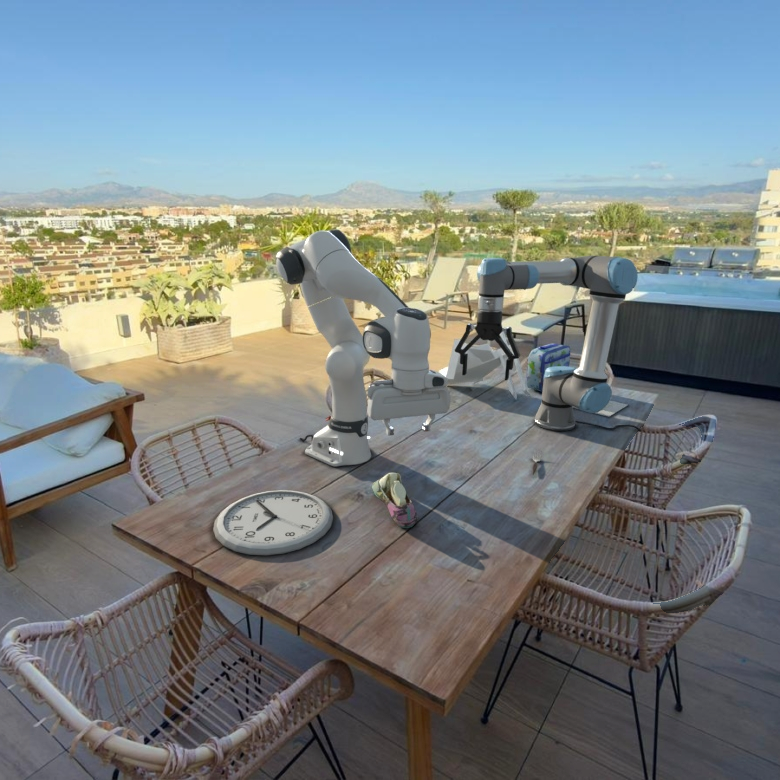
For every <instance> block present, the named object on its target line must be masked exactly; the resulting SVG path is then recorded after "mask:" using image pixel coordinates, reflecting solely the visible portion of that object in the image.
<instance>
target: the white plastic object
mask: <svg viewBox="0 0 780 780" xmlns="http://www.w3.org/2000/svg"><path fill="white" fill-rule="evenodd" d="M502 328H504V327H503V326H502ZM500 336H501V338H502V340H503V341H504V343H505V344H506V345H507V347H508V348H509V349H510V351H511V352H512V354H513V355H514V353H513V351H512V348H511V346H510V344H508V339H507V336H506V335H505V334H504V332H503V331H502V332H501V334H500ZM460 340H461V338H460V339H458V338H454V340H453V344H452V349H451V353H450V357H449V362H448V366H446V367H444V368H442V369H440V370H439V371H438V372H439V373H441V374H442V375H444V376H445V377H446V378H447V379H448V384H447V386H449V385H458V384H467V383H468V384H469V383H473V384H477V383H480V382H482V381H484V378H485V377H486V376H487V375H489V374H490V373H492V372H494V371H495V370H496V369H497V368H499V367H500V366H502V370H503V373H504V374H505V371H506V360H507V359H508V357H507V355H506V354H505V352H504V351H503V350H502V348H501V347H500V348H498V349H496V350H495V349H493V348H492V347H491V346H490V344H489V343H488V342H487V343H483V344H479V345H473V346H471V347H470V348H469V349H468V350H467V351H466V353H465V354H468V358H467V373H466V374H465V375H462V370H463V364H460V354H459V353H457V352H455V349H456V347H457V345H458V343H459V342H460ZM467 345H468V343H466V341H465V342H464V344H463V346H462V348H461V349H464V348H465V347H466V346H467ZM513 364H514V366H515V369H516V372H517V376H518V380H519V382H520V385H521V389H522V391H523V393H524V395H525V396H526V397H528V396H531V395H530V389H529V388H528V387H527V384H526V381H527V380H526V378H525V375H524V371H523V369H522V368H523V367H522V366H521V362H520V359H519V358H518V359H514V363H513ZM506 383H507V386H508V390H509V393H510V394H511V395H512V397H513V398H514V399H515V400H517V392H516V391H517V390H516V388H515V385H514V381H513V378H512V375H511V370H509V379H508V380H506Z"/></svg>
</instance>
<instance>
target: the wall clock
mask: <svg viewBox="0 0 780 780" xmlns="http://www.w3.org/2000/svg"><path fill="white" fill-rule="evenodd" d="M333 520H334V516H333V511H332V509H331V507H330V506H329V505H328V503H327V502H325V501H324V500H322V499H321V498H320V497H318V496H315V495H313V494H310V493H307V492H303V491H298V490H287V489H286V490H285V489H280V490H279V489H277V490H267V491H262V492H258V493H257V492H256V493H253V494H250V495H247V496H245V497H241V498H240V499H238V500H236V501H234V502H233V503H230V504H229V505H228V506H227V507H225V508H224V509H223V510H222V511H220V512H219V513H218V516H217V517H216V518H215V519H214V523H213V529H212V530H213V533H214V536H215V540H217V541H218V542H219V543H220V544H221V545H222V546H223V547H225V548H227V549H229V550H231V551H233V552H236V553H241V554H244V555H249V556H250V555H251V556H252V555H253V556H273V555H281V554H282V555H283V554H286V553H292V552H294V551H299V550H301V549H304V548H305V547H307V546H310V545H312V544H314V543H316V542H317V541H319V540H320V539H321V538H323V537H324V536H325V535H326V534H327V533H328V532H329V530H330V529H331V527H332V525H333Z"/></svg>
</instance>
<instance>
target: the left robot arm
mask: <svg viewBox="0 0 780 780" xmlns="http://www.w3.org/2000/svg"><path fill="white" fill-rule="evenodd" d="M275 263H276V265H275V266H276V269H277V272H278V274H279V275H280V277H281V278H282V279H283V281H284V282H285V283H287V284H288V285H291V286H292V285H299V286H300V287H299V288H300V290H301V293H302V297H303V299H304V301H305V304H306V307H307V309H308V311H309V314H310V316H311V318H312V321H313V323H314V326H315V327H316V330H317V331H318V333H320V334H321V336H322V337H323V338H324V339H325V340H326V342H327V343H328V345H329V347H330V348H331V350H330V351H329V352H328V354H327V356H326V359H325V364H324V367H325V372H326V374H327V375H328V380H329V385H330V391H331V408H332V409H331V411H332V412H331V413H332V414H330V415H329V416H327V417H325V422H328V423H327V424H326V425H325V426H324V427H322V428H321V429H319V430H318V431H317V432H314V433H313V434H307V435H306V436H305V437H304V438H302V437H300V438H299V440H300V441H302V442H305V441H307V439H308V438H311V444H310V445H309V446H307V447H306V448H305V451H304V454H305V455H307V456H309V457H311V458H313V459H315V460H318V461H320V462H322V463H324V464H326V465H328V466H331V467H342V466H353V465H354V466H355V465H360V464H364V463H366V462H368V461H369V460H370V459H371V458H372V453H371V449H370V444H369V440H370V439H371V436H368V431H369V418H370V419H371V420H373V421H381V422H382V423H383V425H384V427H385V435H386V436H387V437H388V436H389V437H390V436H395V428H394V427H393V426H391V425H389V424H390V423H391V420H392V419H401V418H411V417H421V416H427V418H426V420H425V422H422V423H421V426H422V427H421V430H422V431H423V432H424V433H426V432H431V425H432V424H433V422H434V421H435V419H436V415H440V414H447V413H448V412H449V411H450V408H451V395H450V389H449V387H447V386H448V385H447V384H448V379H447V378H446V377H445V376H444V375H442V374H441V373H440V372H439V371H436V370H433V369H430V362H429V353H430V349H431V336H432V331H431V324H430V320H429V317H428V314H427V313H426V312H425V311H423V310H421V309H419V308H415V307H414V308H413V307H409V306H408V305H407V304H406V303H405V302H404V301H403V300H402V299H401V298H400V296H399V295H397V294H396V292H395V291H394V290H393V289H392V288H391V287H390V286H388V284H387V283H386V282H384V281H383V280H382V279H381V278H380V277H379V276H377V275H376V274H374V273H373V272H371V271H370V270H369V269H368V268H366V267H365V266H364V265H363V264H362V263H360V262H359V261H358V260H357V259H356V257H355V256H354V255H353V254H352V248H351V244H350V242H349V239H348V237H347V236H346V235H345V233H344V232H343V231H341V230H340V229H329V230H317V231H314V232H313V233H311V234H310V235H308V237H306V238H303V239H302V240H300V241H298V242H295V243H293V244H291V245H289V246H285V247H284V248H282V249H280V250H279V251H278V252H277V253H276V256H275ZM345 300H355V301H359V302H364V303H367V304H370V305H371V306H373V307H375V308H376V309H377V310H378V311H379V312H380V313H381V314H382V315H383V316H384V317H382V318H378V319H374V320H370V321H369V322H368V323H367V324H366V325H365V327H364V328H363V333H362V332H361V331H360V329H359V328H358V326H357V325H356V323H355V321H354V319H353V317H352V316H351V313H350V311H349V308H348V306H347V305H346V302H345ZM371 357H372V358H373V359H378V360H379V359H380V360H385V359H389V360H390V361H391V366H390V367H391V368H390V371H391V372H390V379H383V380H374V381H373V382H371V383H369V385H367V390H366V387H365V380H364V369H365V367H366V366H367V365H368V364H369V361H370V360H371V359H370V358H371ZM367 398H368V399H367Z"/></svg>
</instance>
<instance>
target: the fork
mask: <svg viewBox="0 0 780 780" xmlns="http://www.w3.org/2000/svg"><path fill="white" fill-rule="evenodd" d="M540 453H543V452H542V451H541V452H540ZM540 453H538V452H536V451H534V452H533V456H532V461H534V463H533V466H532V475H534V474H535V472H536V470H537V469H538V468H537V467H538V464H537V462H541V461H542V454H540Z"/></svg>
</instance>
